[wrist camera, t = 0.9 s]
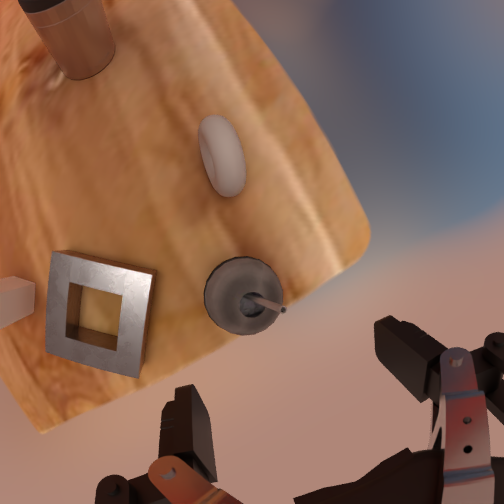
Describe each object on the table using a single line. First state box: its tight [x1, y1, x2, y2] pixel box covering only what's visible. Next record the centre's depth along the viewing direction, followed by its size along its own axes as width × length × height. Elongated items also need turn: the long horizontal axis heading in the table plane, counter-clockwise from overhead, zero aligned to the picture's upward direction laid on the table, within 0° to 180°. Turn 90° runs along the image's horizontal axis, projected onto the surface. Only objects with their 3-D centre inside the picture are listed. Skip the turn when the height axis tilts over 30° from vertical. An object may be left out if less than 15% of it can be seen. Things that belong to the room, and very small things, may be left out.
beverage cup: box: [204, 256, 287, 335], centre depth 28 cm, size 7×7×20 cm
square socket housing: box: [46, 250, 157, 379], centre depth 32 cm, size 13×13×5 cm
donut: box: [198, 115, 246, 197], centre depth 32 cm, size 10×3×10 cm, turn 19°
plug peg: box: [0, 276, 36, 329], centre depth 26 cm, size 4×4×12 cm
